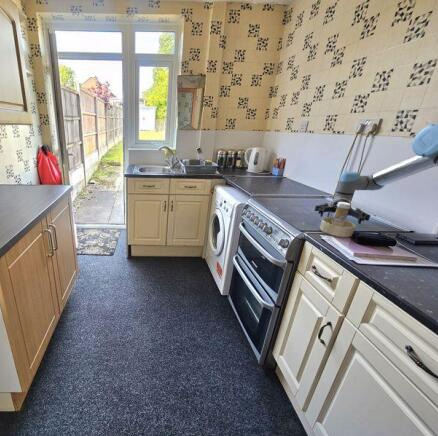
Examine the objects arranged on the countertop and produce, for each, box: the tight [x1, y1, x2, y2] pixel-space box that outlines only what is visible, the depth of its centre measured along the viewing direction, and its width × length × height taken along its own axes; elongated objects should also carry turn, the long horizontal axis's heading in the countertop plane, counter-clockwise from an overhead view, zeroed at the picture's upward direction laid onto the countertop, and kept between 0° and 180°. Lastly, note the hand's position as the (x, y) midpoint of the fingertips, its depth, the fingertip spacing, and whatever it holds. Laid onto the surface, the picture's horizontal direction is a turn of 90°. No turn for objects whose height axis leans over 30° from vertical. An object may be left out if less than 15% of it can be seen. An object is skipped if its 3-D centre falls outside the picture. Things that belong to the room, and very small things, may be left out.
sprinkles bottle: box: [332, 202, 352, 227], centre depth 110 cm, size 5×5×13 cm
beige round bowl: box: [319, 216, 357, 238], centre depth 111 cm, size 12×12×5 cm
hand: (340, 217), depth 107 cm, fingers open, 13 cm apart
